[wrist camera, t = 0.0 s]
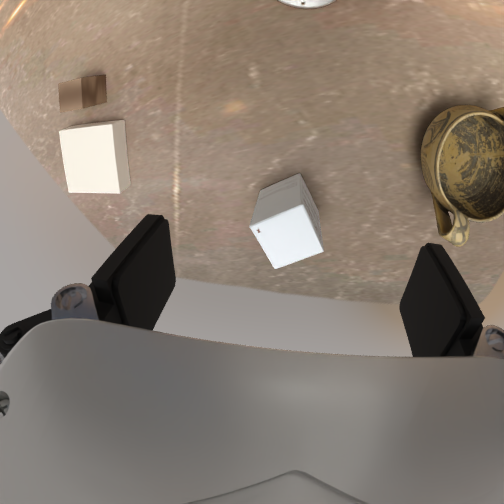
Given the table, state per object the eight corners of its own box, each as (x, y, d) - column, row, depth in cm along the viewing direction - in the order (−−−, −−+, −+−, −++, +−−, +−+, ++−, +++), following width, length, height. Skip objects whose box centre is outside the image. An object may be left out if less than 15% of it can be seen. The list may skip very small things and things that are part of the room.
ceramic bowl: (445, 64, 32) (499, 67, 19) (510, 129, 34) (564, 155, 21) (379, 176, 44) (409, 218, 31) (449, 225, 46) (486, 274, 33)
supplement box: (279, 226, 51) (273, 271, 41) (259, 189, 48) (247, 225, 38) (319, 211, 49) (325, 253, 38) (301, 171, 46) (302, 203, 35)
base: (72, 125, 45) (59, 130, 42) (124, 119, 44) (112, 124, 41) (80, 184, 52) (68, 192, 48) (130, 184, 51) (120, 193, 47)
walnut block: (83, 79, 40) (58, 83, 35) (105, 74, 40) (81, 77, 34) (84, 105, 43) (60, 112, 37) (106, 102, 43) (82, 108, 37)
